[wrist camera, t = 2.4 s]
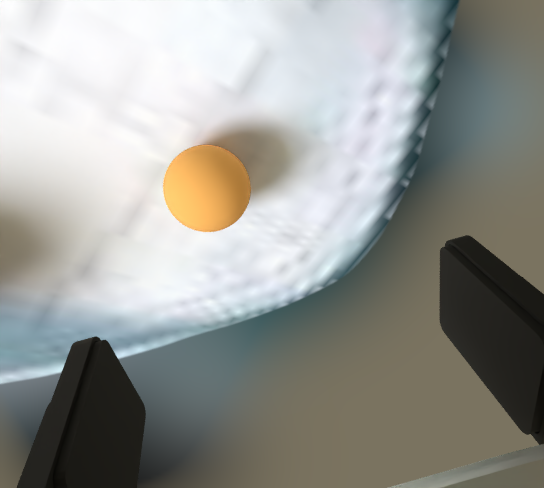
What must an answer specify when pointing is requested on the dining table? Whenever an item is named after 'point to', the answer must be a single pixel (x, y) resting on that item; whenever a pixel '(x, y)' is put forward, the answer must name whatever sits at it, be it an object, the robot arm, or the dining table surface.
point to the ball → (206, 188)
